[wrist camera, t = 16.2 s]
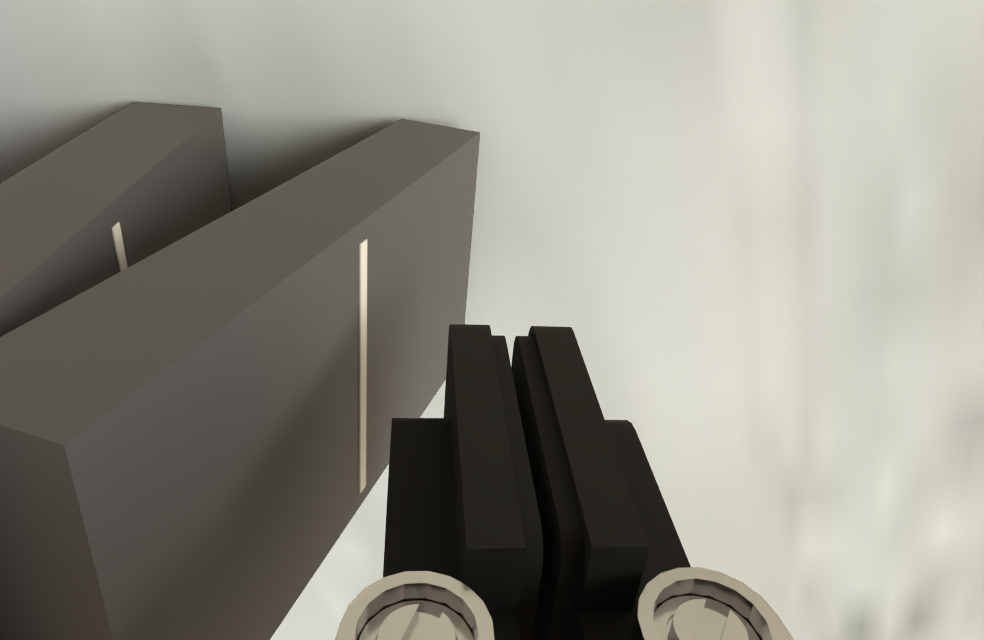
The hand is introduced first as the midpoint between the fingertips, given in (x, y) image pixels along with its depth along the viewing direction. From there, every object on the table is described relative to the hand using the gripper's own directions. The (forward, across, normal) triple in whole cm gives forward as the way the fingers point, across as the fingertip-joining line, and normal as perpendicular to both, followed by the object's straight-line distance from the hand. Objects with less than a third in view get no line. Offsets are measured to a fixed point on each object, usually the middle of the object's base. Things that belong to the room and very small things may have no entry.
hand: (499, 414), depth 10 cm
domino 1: (+6, +1, 0) cm, 6 cm away
